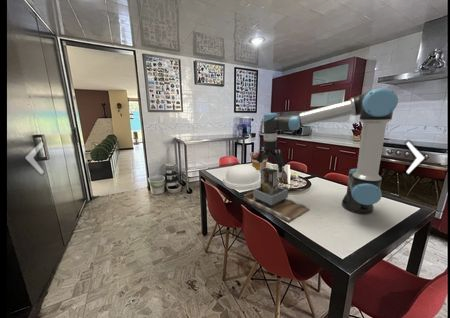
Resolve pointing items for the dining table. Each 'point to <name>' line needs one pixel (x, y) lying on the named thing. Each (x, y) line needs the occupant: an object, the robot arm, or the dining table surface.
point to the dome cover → (242, 177)
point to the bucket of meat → (254, 161)
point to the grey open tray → (270, 199)
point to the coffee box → (269, 181)
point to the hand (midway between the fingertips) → (269, 174)
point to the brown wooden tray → (279, 208)
